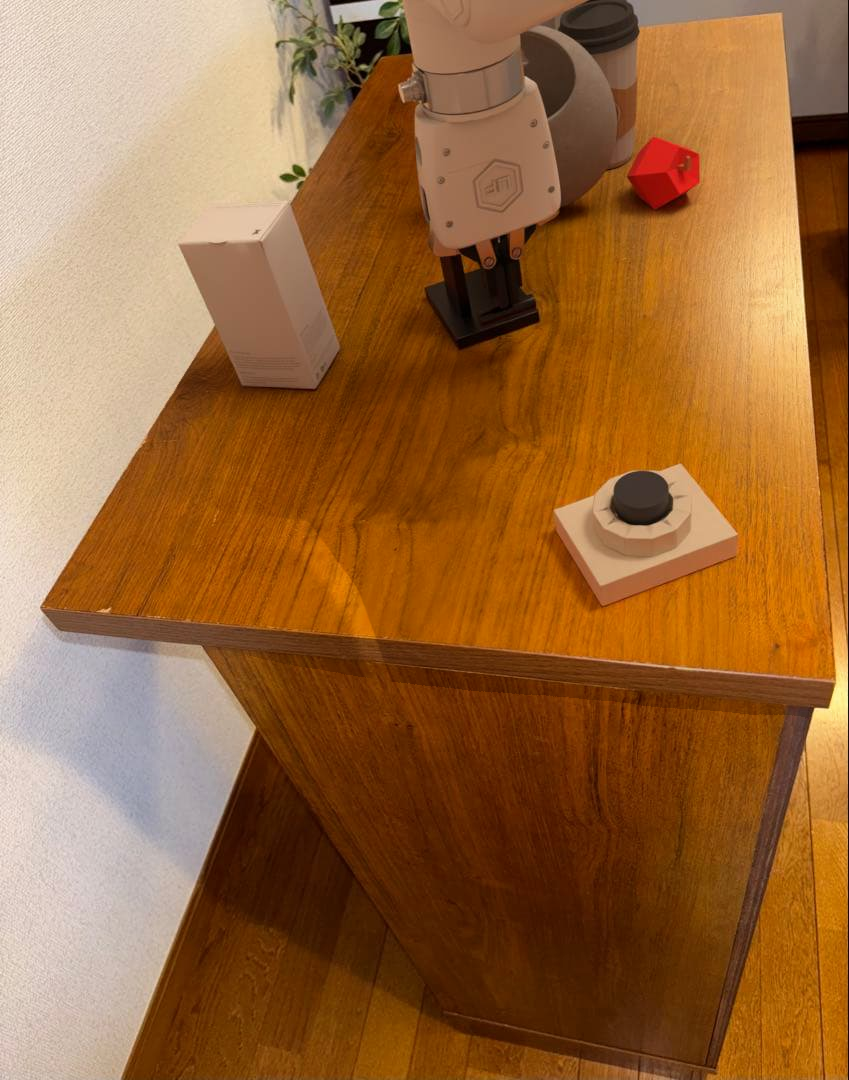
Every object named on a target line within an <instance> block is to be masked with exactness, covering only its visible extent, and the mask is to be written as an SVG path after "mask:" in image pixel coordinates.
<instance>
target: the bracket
mask: <svg viewBox="0 0 849 1080" xmlns="http://www.w3.org/2000/svg"><path fill="white" fill-rule="evenodd" d="M490 242H491V245H492V248H493V251H495V246H497V244H498V243H499V242H498V237H496V238H493V239H490ZM439 263H440V266H441V271H442V277H443V280H441V281H439V282H436V283H433V284H430V285H428V286H425V287H424V293H425V294H424V295H425V298H426V299H427V301H428V303H429V305H430V306H431V307H432V309H433V311H434V313H435V314H436V316H437V317H438V318H439V320H440V322H441V323H442V325H443V327H444V329H445V330H446V332H447V333H448V335H449V336H450V339H452V341H453V343H454V344H455V346H456V348H457V349H458V350H462V349H466V348H468V347H470V346H473V345H476V344H479V343H482V342H485V341H488V340H491V339H493V338H497V337H500V336H502V335H506V334H508V333H510V332H514V331H516V330H519V329H522V328H525V327H528V326H530V325H534V324H536V323H539V322H540V321H541V320H540V311H539V309H538V308H537V307H536V309H533V310H531V311H528V312H525V313H522V314H519V315H516V316H513V317H511V318H508V319H505V320H502V321H499V322H496V323H493V324H491V325H488V326H485V327H481V326H480V324H479V322H478V319H477V312H480V311H483V310H486V309H489V308H491V307H494V306H496V304H495V301H494V299H493V297H490V298H488V297H487V295H486V294H485V292H484V289H483V285H482V279H481V273H480V267H479V268H477V269H473V270H471V271H467V272H465V269H464V263H463V259H462V254H456V255H455V256H445V257H439ZM518 293H519V298H520V297H523V296H526V295H527V294H526V293H525V291H524V290H523V289H522V287H519V288H518Z"/></svg>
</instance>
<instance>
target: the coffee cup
mask: <svg viewBox="0 0 849 1080" xmlns="http://www.w3.org/2000/svg"><path fill="white" fill-rule="evenodd" d="M557 31H559V32H561V33H563V34H565V35H567V36H569V37H570V38H572V39H573V40H575V41H576V42H577V43H579V44H580V45H581V46H582V47H583V48H584V49H585V50H586V51H587V52H588V53H589V54H590V55H591V56H592V57H593V59H594V60H595V61H596V63H597V64H598V65H599V67H600V68H601V70H602V72H603V73H604V75H605V77H606V79H607V81H608V84H609V86H610V89H611V92H612V95H613V98H614V103H615V108H616V114H617V135H616V142H615V147H614V151H613V154H612V157H611V160H610V162H609V165H608V167H607V169H606V170H612V169H615V168H618V167H621V166H623V165H624V164H626V163H628V162H629V161H630V160H631V158H632V156H633V153H634V151H635V143H636V142H635V139H636V121H637V108H638V107H637V106H638V105H637V103H638V102H637V100H638V75H637V73H638V71H637V70H638V41H639V40H638V39H639V38H638V37H639V35H640V33H641V31H640V27H639V19H638V15H636V14H635V11H634V6H633V4H632V3H630V2H628V1H625V0H598V1H593V2H588V3H585V4H581V5H578V6H576V7H574V8H572V9H570V10H568V11H566V12H565V13H564V14H563V15H562V16H561V18H560V26H559V28H558V30H557Z"/></svg>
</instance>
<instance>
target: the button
mask: <svg viewBox="0 0 849 1080" xmlns="http://www.w3.org/2000/svg"><path fill="white" fill-rule="evenodd" d="M650 471H651V470H648V471H635V472H631V473H628V474H626V475H624V476H622V477H621V478H620V479H619V480H618V481H617V482H616V484H615V486H614V504H615V512H616V514H617V516H618V517H619V518H620V519H621V520H622V521H624V522H625V523H628V524H630V525H641V526H647V525H651V524H654V523H657V522H658V521H660V520H661V519H663V518H664V517H665V515H666V514H667V512H668V510H669V487H668V484H667V482H666V480H665V479H664V478H663V477H662V476H660V475H659V474H657V473H654V472H650Z"/></svg>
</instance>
